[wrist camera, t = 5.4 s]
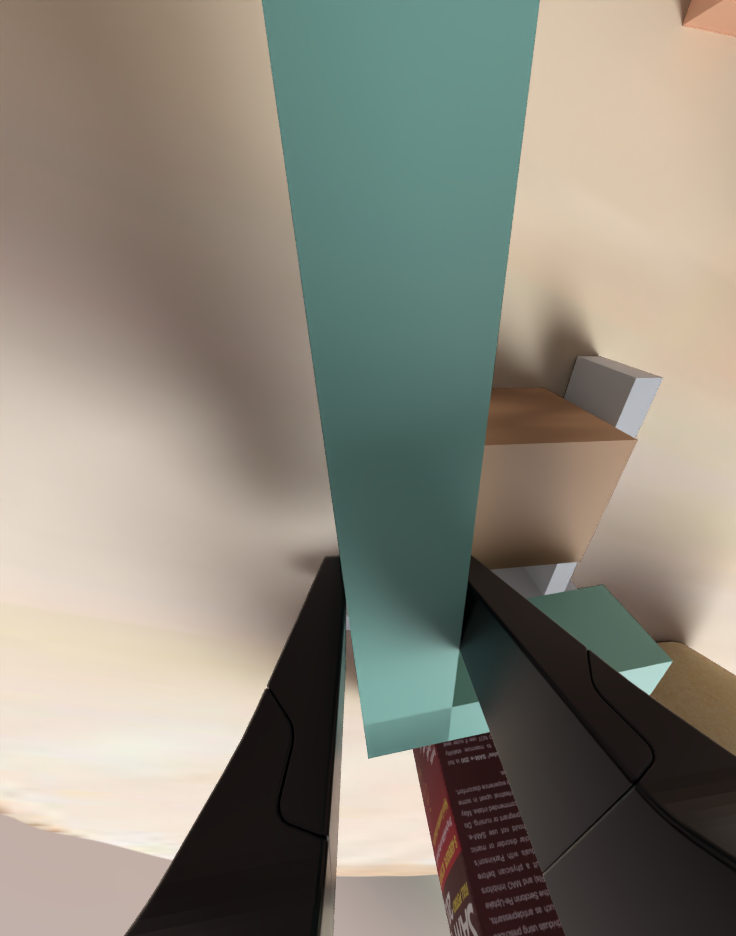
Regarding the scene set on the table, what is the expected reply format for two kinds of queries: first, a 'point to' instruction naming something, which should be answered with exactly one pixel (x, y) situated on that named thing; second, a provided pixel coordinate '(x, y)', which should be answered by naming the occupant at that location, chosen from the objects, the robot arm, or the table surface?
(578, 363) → the gray angle bracket
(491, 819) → the supplement box
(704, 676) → the plant pot
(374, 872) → the table surface
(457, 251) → the crook
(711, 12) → the offcut
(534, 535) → the block
